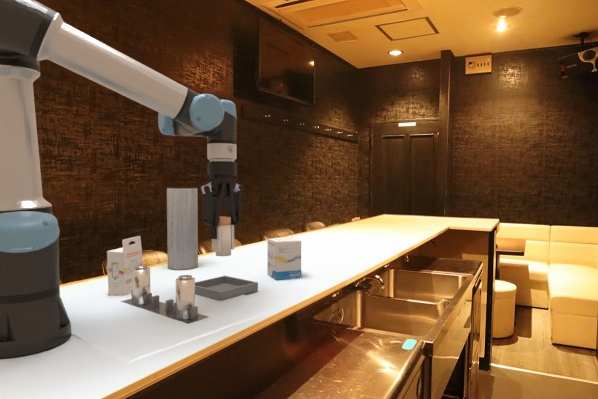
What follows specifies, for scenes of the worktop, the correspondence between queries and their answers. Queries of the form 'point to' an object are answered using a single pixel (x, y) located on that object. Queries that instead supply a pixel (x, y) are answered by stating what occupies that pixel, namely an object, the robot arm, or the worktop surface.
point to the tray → (225, 287)
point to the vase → (182, 228)
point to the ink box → (284, 258)
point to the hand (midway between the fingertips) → (223, 249)
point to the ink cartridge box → (123, 266)
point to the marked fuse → (225, 236)
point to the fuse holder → (178, 311)
